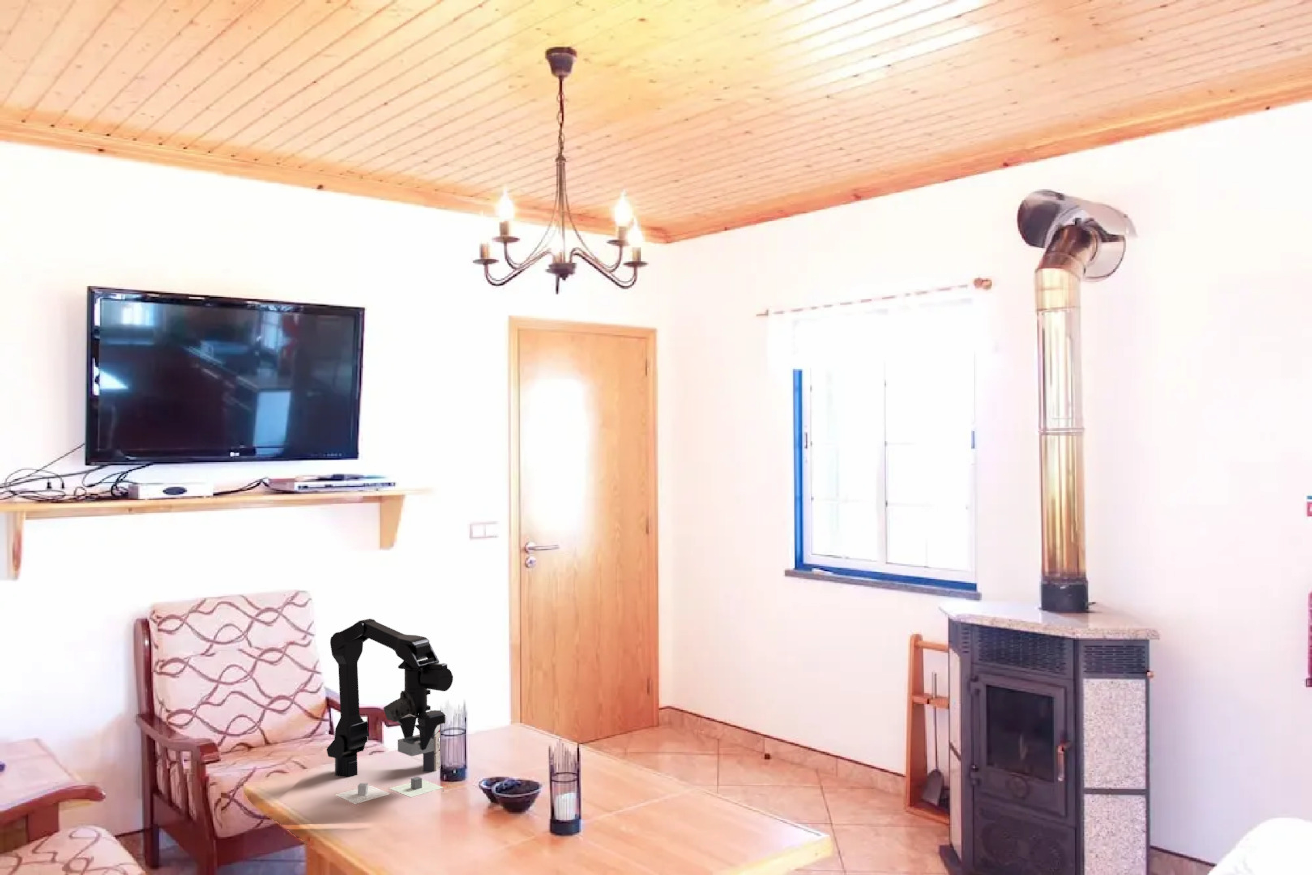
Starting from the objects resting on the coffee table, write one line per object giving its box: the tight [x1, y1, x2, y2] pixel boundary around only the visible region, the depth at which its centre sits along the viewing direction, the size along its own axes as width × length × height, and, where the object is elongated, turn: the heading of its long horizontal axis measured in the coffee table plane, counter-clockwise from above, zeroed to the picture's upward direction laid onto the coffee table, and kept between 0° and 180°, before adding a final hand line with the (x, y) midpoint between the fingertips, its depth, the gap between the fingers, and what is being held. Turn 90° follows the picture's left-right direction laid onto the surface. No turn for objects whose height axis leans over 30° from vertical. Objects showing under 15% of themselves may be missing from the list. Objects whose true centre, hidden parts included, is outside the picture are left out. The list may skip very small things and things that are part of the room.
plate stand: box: [335, 782, 391, 805], centre depth 258 cm, size 10×10×4 cm
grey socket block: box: [397, 733, 434, 757], centre depth 263 cm, size 7×7×3 cm
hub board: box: [388, 776, 445, 798], centre depth 263 cm, size 10×10×4 cm
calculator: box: [422, 709, 441, 773], centre depth 282 cm, size 11×4×15 cm, turn 179°
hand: (416, 746), depth 263 cm, fingers closed on grey socket block, 7 cm apart
